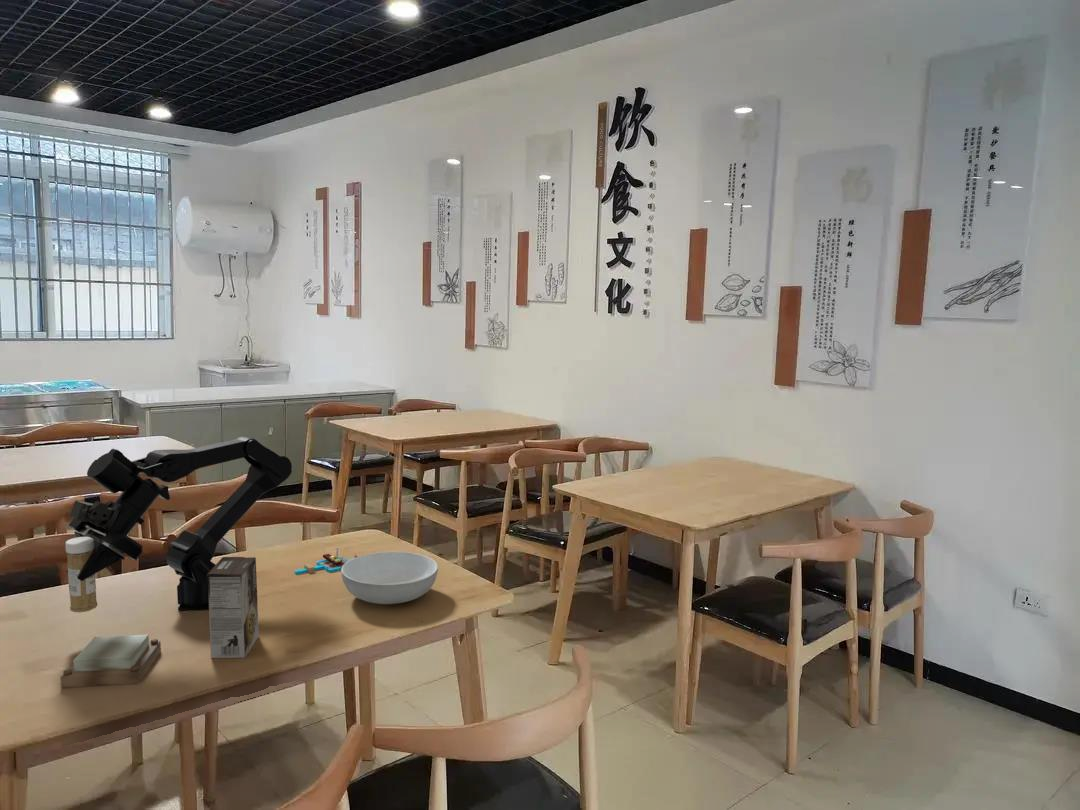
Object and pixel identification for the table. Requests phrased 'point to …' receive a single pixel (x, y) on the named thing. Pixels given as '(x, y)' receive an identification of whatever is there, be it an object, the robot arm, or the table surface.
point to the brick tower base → (113, 674)
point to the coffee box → (233, 607)
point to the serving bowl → (389, 576)
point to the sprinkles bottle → (78, 590)
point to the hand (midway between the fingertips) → (73, 576)
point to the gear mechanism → (326, 564)
